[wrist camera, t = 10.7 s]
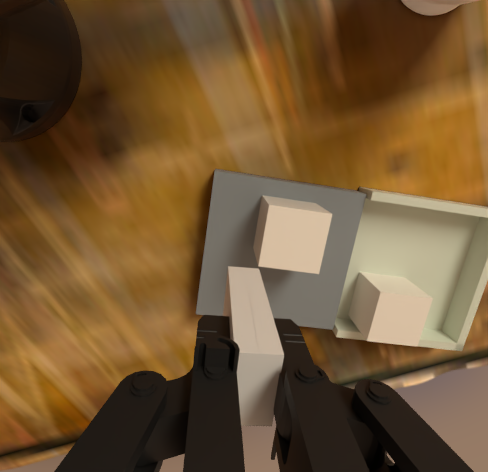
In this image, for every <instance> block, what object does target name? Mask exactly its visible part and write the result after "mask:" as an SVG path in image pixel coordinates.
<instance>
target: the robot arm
mask: <svg viewBox="0 0 488 472" xmlns="http://www.w3.org/2000/svg"><path fill="white" fill-rule="evenodd" d="M81 65H82V57H81V46H80V40H79V36H78V32H77V28H76V25H75V23H74V20H73V17H72V15H71V13H70V11H69V9H68V7H67V5H66V3H65V1H64V0H0V142H12V141H20V140H24V139H28V138H31V137H34V136H36V135H39V134H41V133H43V132H44V131H46V130H48V129H49V128H50V127H52V126H53V125H54V124H55V123H57V122H58V121H59V120H60V119H61V117H62V116H63V115H64V114H65V113H66V111H67V110H68V108H69V107H70V105H71V103H72V101H73V99H74V97H75V95H76V92H77V89H78V86H79V81H80V76H81ZM274 415H275V420H276V430H275V436H274V441H273V447H272V453H271V459H272V460H274V459H275V455H276V452H277V458H278V463H279V469H280V472H474V471H473V470H472V469H471V468H470V467H469V466H468V465H467V464H466V463H465V462H464V461H463V460H462V459H461V458H460V457H459V456H458V455H457V454H456V453H455V452H454V451H453V450H452V449H451V448H450V447H449V446H448V445H447V444H446V443H445V442H444V441H443V440H442V439H441V437H439V436H438V434H437V433H436V432H435V431H434V430H433V429H432V428H431V427H430V426H429V425H428V424H427V423H426V422H425V421H424V420H423V419H422V418H421V417H420V416H419V415H418V414H417V413H416V412H415V411H414V410H413V409H412V408H411V407H410V406H409V404H408V403H407V402H405V400H404V399H403V398H402V397H401V396H400V395H399V394H398V393H397V392H396V391H395V390H393V389H392V388H391V387H390V386H388V385H386V384H384V383H382V382H380V381H376V380H372V379H364V380H361V381H358V383H357V384H356V386H355V389H351V388H347V387H344V386H340V385H337V384H334V383H332V382H330V380H329V378H328V376H327V375H326V373H325V372H324V371H323V370H322V369H321V368H319V367H318V366H316V365H314V363H313V360H312V358H311V355H310V353H309V351H308V348H307V346H306V343H305V341H304V338H303V336H302V333H301V331H300V328H299V326H298V325H297V324H296V323H294V322H293V321H292V320H291V319H281V318H273V315H272V311H271V308H270V305H269V301H268V298H267V294H266V291H265V288H264V284H263V281H262V277H261V274H260V270H259V269H257V268H244V267H231V266H228V272H227V282H226V291H225V300H224V309H223V316H217V315H203V317H202V318H201V319H200V320H199V321H198V328H197V338H196V346H195V352H194V364H193V368H192V369H191V370H190V372H188V373H187V374H186V375H184V376H182V377H180V378H178V379H174V380H170V381H166V379H165V378H164V377H163V376H162V375H161V374H159V373H156V372H154V371H140V372H135V373H133V374H131V375H129V376H127V377H126V378H124V379H123V380H122V381H121V382H120V384H119V385H118V386H117V388H116V389H115V390H114V392H113V393H112V394H111V396H110V397H109V398H108V400H107V401H106V403H105V404H104V405H103V407H102V408H101V409H100V411H99V412H98V413H97V415H96V416H95V417H94V419H93V420H92V421H91V423H90V424H89V426H88V427H87V428H86V430H85V431H84V432H83V434H82V435H81V436H80V438H79V439H78V440H77V442H76V443H75V444H74V446H73V447H72V448H71V450H70V451H69V453H68V454H67V455H66V457H65V458H64V459H63V461H62V462H61V463H60V465H59V466H58V468H57V469H56V470H55V472H159V471H160V468H161V466H162V462H163V460H165V459H168V458H171V457H174V456H178V455H181V454H185V458H184V468H183V472H245V467H244V454H243V443H242V431H241V425H247V426H272V422H273V416H274ZM387 453H388V454H389V455H390V456H391V458H392V459H393V460H394V462H395V464H394V463H393V462H392V461H391V460H390V459H389V458H388V456H387Z"/></svg>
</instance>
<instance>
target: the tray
mask: <svg viewBox="0 0 488 472" xmlns="http://www.w3.org/2000/svg"><path fill="white" fill-rule="evenodd" d="M358 191H359V192H362V193H365V194H367V195H366V199H365V203H364V207H363V211H362V215H361V219H360V223H359V227H358V231H357V235H356V239H355V243H354V247H353V251H352V255H351V259H350V263H349V267H348V271H347V275H346V279H345V283H344V287H343V291H342V295H341V300H340V304H339V308H338V312H337V316H336V320H335V324H334V328H333V330H332V331H333V333H334V334H335V336H336V337H339V338H348V339H357V340H366V339H365V338H364V336H363V335H362V333H361V332H360V331H359V329H358V328H357V327H356V325H355V324H354V322H353V321H352V320H351V318H350V317H349V315H348V313H349V309H350V306H351V302H352V298H353V294H354V290H355V286H356V282H357V279H358V275H359V272H366V273H374V274H381V275H389V276H397V277H404V278H406V279H407V280H409V281H410V282H411V283H413V284H414V285H415V286H417V287H418V288H420V289H421V290H422V291H424V292H425V293H426V294H428V295H429V296H430V297H432V298H433V300H432V303H431V306H430V309H429V312H428V315H427V319H426V322H425V325H424V328H423V331H422V334H421V337H420V340H419V343H418V346H420V347H429V348H438V349H447V350H456V351H462V349H463V346H464V344H465V341H466V338H467V335H468V333H469V330H470V327H471V324H472V322H473V319H474V316H475V313H476V311H477V308H478V305H479V302H480V299H481V297H482V294H483V291H484V288H485V286H486V283H487V280H488V207H486V206H479V205H473V204H466V203H460V202H454V201H447V200H441V199H434V198H428V197H421V196H415V195H409V194H402V193H396V192H389V191H383V190H376V189H370V188H363V187H359V190H358ZM366 341H367V340H366Z"/></svg>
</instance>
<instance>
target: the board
mask: <svg viewBox="0 0 488 472" xmlns="http://www.w3.org/2000/svg"><path fill="white" fill-rule="evenodd" d="M262 195H264V196H271V197H278V198H284V199H291V200H298V201H304V202H311V203H316V204H318V205H319V206H321V207H322V208H324V209H325V210H327V211H329V212H330V213H332V219H331V223H330V228H329V232H328V236H327V241H326V245H325V250H324V254H323V258H322V263H321V267H320V272H319V274H314V273H306V272H298V271H291V270H283V269H275V268H267V267H260V266H258V264H257V260H256V256H255V253H254V249H253V246H254V240H255V234H256V228H257V222H258V216H259V210H260V205H261V199H262ZM366 195H367V194H365V193H362V192H359V191H356V190H349V189H343V188H336V187H330V186H324V185H317V184H311V183H304V182H298V181H291V180H285V179H278V178H272V177H265V176H259V175H252V174H246V173H239V172H233V171H226V170H220V169H215V172H214V179H213V187H212V194H211V202H210V209H209V217H208V225H207V232H206V240H205V247H204V255H203V262H202V270H201V277H200V285H199V293H198V300H197V308H196V314H198V315H217V316H223V309H224V300H225V291H226V282H227V272H228V266H231V267H244V268H257V269H259V270H260V274H261V277H262V281H263V284H264V288H265V291H266V294H267V298H268V301H269V305H270V308H271V311H272V315H273V318H281V319H291V320H292V321H293V322H294V323H296V324H297V325H298V326H304V327H313V328H322V329H331V330H333V328H334V324H335V320H336V316H337V312H338V308H339V304H340V300H341V295H342V291H343V287H344V283H345V279H346V275H347V271H348V267H349V263H350V259H351V255H352V251H353V247H354V243H355V239H356V235H357V231H358V227H359V223H360V219H361V215H362V211H363V207H364V203H365V199H366Z"/></svg>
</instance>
